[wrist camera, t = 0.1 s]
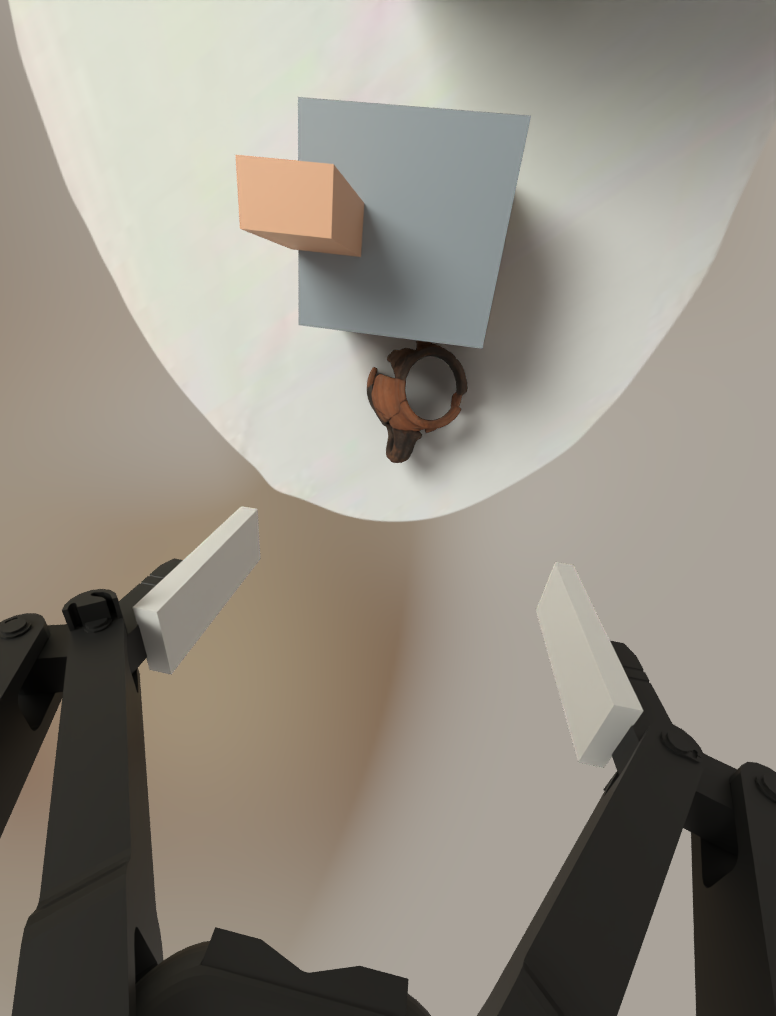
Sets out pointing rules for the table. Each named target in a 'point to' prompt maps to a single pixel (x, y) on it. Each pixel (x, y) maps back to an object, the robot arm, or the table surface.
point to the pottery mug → (394, 406)
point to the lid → (391, 215)
